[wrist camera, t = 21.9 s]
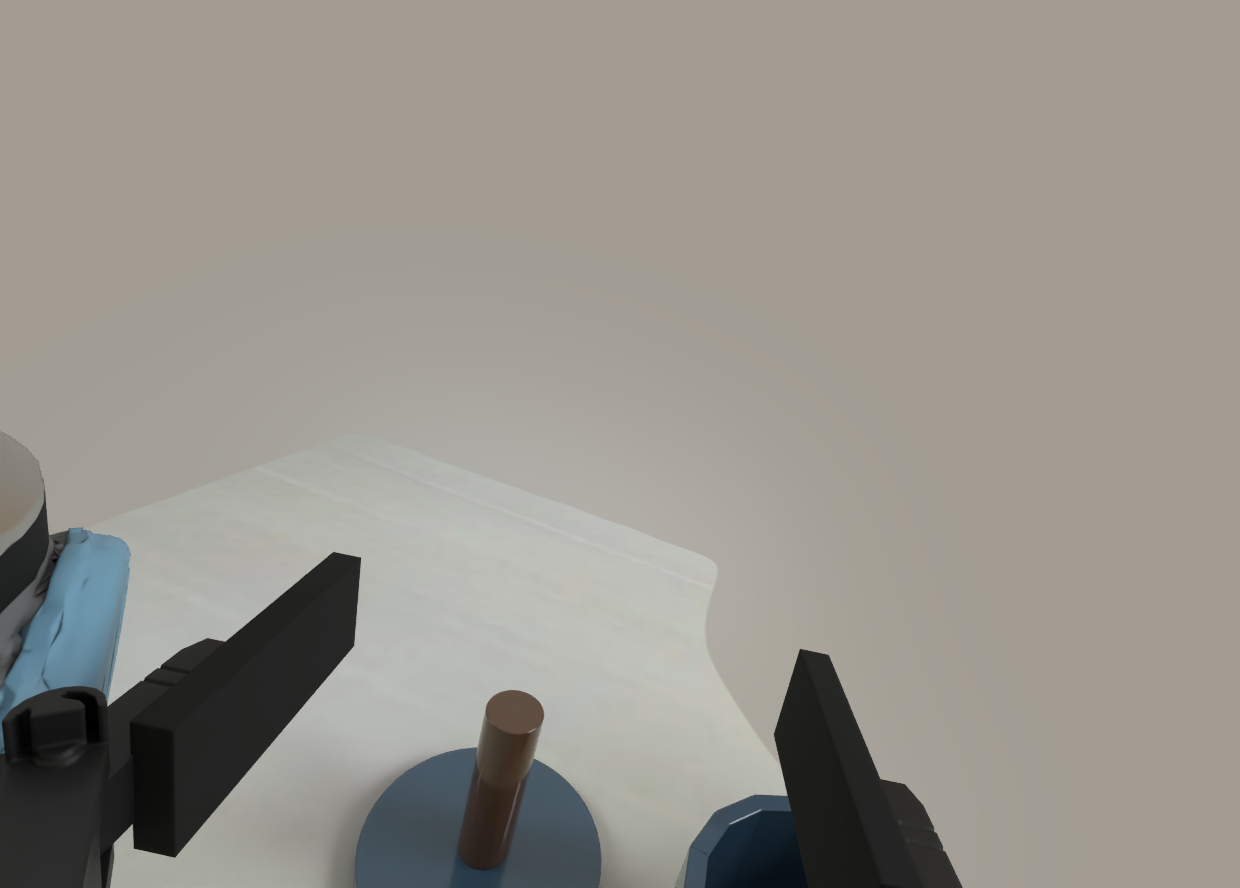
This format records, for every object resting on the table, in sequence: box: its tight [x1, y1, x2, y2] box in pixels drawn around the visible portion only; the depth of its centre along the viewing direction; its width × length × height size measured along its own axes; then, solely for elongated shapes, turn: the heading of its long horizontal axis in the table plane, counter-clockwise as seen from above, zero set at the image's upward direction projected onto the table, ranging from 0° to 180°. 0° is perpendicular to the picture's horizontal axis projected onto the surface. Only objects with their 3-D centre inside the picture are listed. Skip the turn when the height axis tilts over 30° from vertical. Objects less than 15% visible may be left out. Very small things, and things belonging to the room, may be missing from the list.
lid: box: [354, 690, 601, 888], centre depth 32 cm, size 13×13×10 cm
